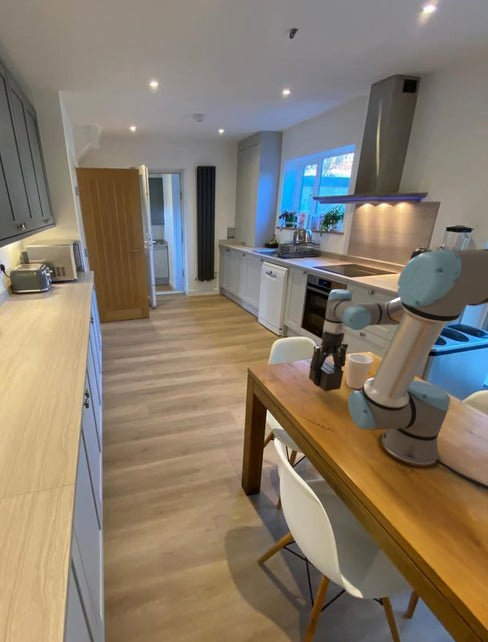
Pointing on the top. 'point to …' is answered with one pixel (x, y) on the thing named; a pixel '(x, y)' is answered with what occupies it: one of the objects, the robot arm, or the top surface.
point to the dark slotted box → (329, 376)
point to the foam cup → (358, 369)
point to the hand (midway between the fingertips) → (324, 383)
